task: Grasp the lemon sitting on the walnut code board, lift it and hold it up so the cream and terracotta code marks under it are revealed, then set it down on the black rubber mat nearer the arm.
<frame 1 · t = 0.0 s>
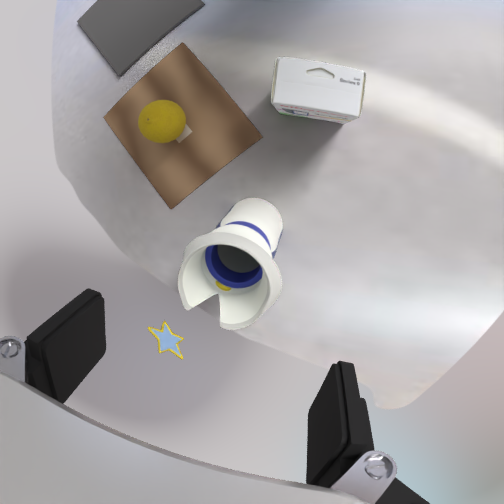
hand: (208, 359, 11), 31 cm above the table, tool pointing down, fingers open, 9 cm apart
lemon: (175, 123, 39), resting on code board
rubber mat: (134, 11, 33), on the table
ink box: (313, 102, 36), on the table
code board: (174, 123, 39), on the table
water bottle: (255, 227, 42), on the table
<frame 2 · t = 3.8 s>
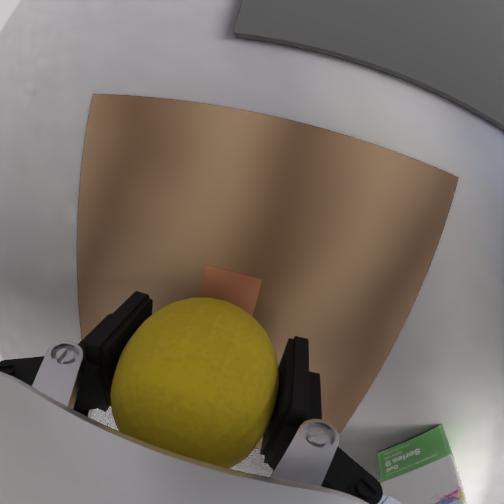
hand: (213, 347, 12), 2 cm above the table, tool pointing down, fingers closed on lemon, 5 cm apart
lemon: (223, 321, 14), resting on code board, touching gripper
ink box: (418, 460, 16), on the table
code board: (223, 321, 14), on the table
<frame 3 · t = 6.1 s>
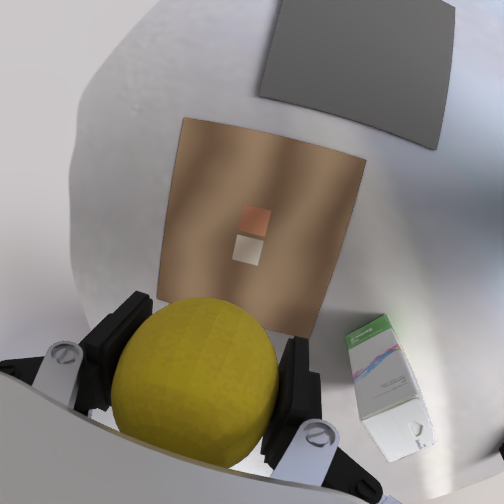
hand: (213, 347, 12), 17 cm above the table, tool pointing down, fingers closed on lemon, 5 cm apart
lemon: (223, 321, 14), point 15 cm above the table, touching gripper
rubber mat: (369, 39, 21), on the table
ink box: (377, 350, 30), on the table
code board: (251, 235, 28), on the table
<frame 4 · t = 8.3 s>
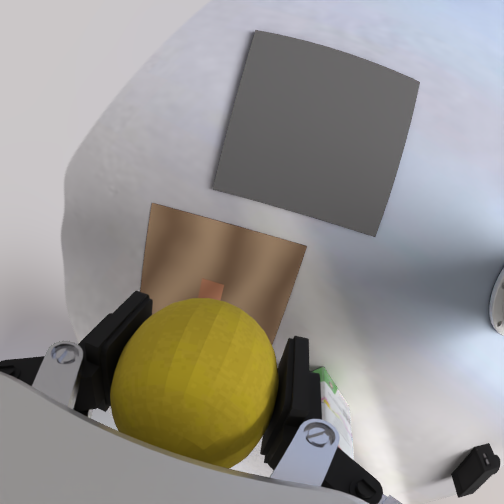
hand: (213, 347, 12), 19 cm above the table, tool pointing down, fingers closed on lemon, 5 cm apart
lemon: (223, 321, 14), point 17 cm above the table, touching gripper
rubber mat: (319, 129, 26), on the table
ink box: (318, 392, 36), on the table
code board: (208, 302, 33), on the table
digital camera: (471, 458, 40), on the table
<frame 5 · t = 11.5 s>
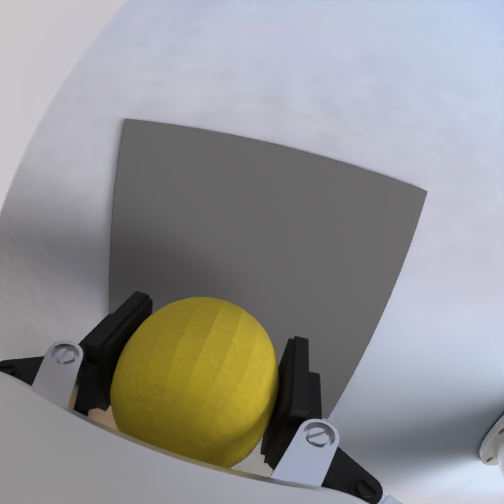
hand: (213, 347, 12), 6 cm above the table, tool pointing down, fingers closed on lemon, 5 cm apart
lemon: (223, 320, 14), point 4 cm above the table, touching gripper
rubber mat: (240, 289, 17), on the table
code board: (141, 445, 25), on the table
when the fingers open (4 cm above the table, at t = 12.9 s): lemon drops 1 cm, resting on rubber mat.
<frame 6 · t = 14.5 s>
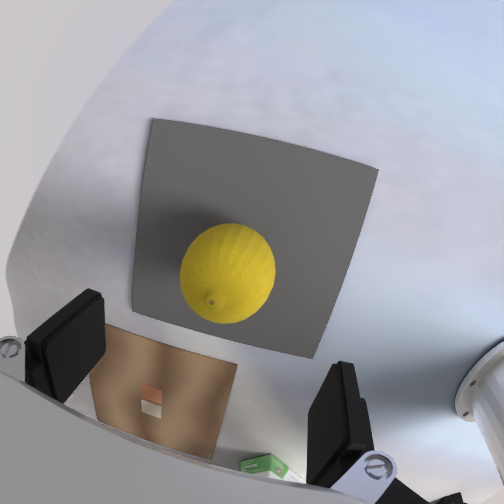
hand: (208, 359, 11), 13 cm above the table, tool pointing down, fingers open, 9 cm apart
lemon: (240, 248, 23), resting on rubber mat
rubber mat: (240, 246, 23), on the table
ink box: (271, 469, 33), on the table
code board: (151, 401, 30), on the table
digital camera: (443, 503, 37), on the table
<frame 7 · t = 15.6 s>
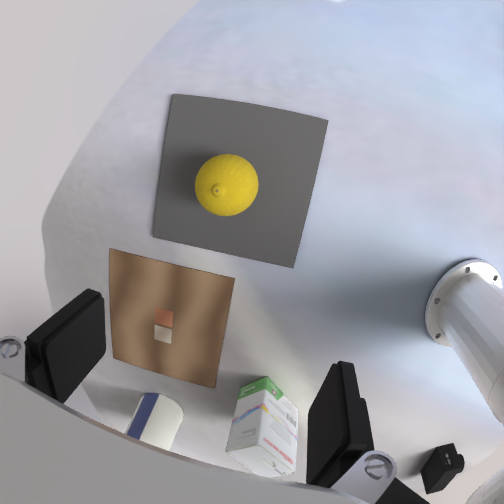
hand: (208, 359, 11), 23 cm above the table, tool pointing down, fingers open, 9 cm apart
lemon: (234, 179, 31), resting on rubber mat
rubber mat: (234, 179, 32), on the table
ink box: (268, 398, 42), on the table
code board: (163, 325, 39), on the table
water bottle: (161, 409, 45), on the table
digital camera: (438, 456, 46), on the table
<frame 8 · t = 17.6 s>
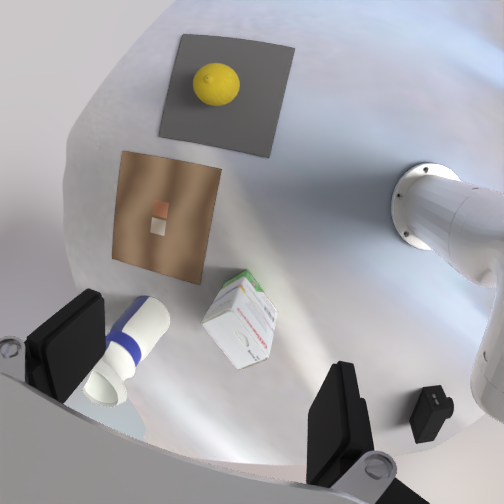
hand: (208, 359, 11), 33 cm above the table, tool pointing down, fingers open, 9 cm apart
lemon: (224, 90, 38), resting on rubber mat
rubber mat: (224, 90, 38), on the table
ink box: (249, 297, 48), on the table
code board: (159, 217, 45), on the table
water bottle: (150, 316, 52), on the table
digital camera: (427, 402, 51), on the table
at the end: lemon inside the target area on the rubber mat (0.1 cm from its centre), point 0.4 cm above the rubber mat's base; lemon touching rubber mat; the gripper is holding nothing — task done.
